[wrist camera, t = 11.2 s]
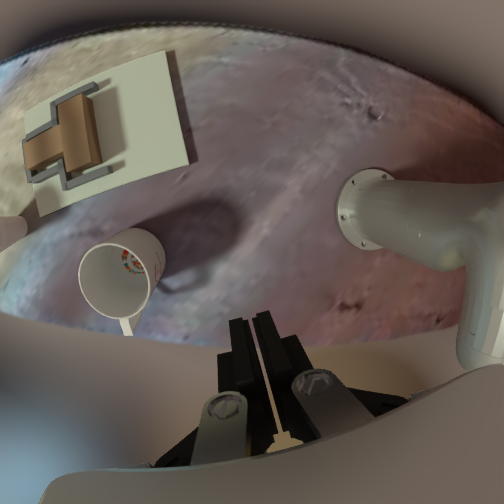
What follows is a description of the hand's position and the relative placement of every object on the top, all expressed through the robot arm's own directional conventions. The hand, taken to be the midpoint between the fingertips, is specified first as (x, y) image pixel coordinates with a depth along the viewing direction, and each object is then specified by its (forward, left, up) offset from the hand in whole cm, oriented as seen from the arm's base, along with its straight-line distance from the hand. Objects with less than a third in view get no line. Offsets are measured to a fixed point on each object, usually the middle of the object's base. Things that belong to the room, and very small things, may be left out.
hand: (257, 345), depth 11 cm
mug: (+14, +2, -29) cm, 33 cm away
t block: (+20, -19, -28) cm, 39 cm away
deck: (+16, -19, -29) cm, 38 cm away
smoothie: (+34, -10, -29) cm, 46 cm away
